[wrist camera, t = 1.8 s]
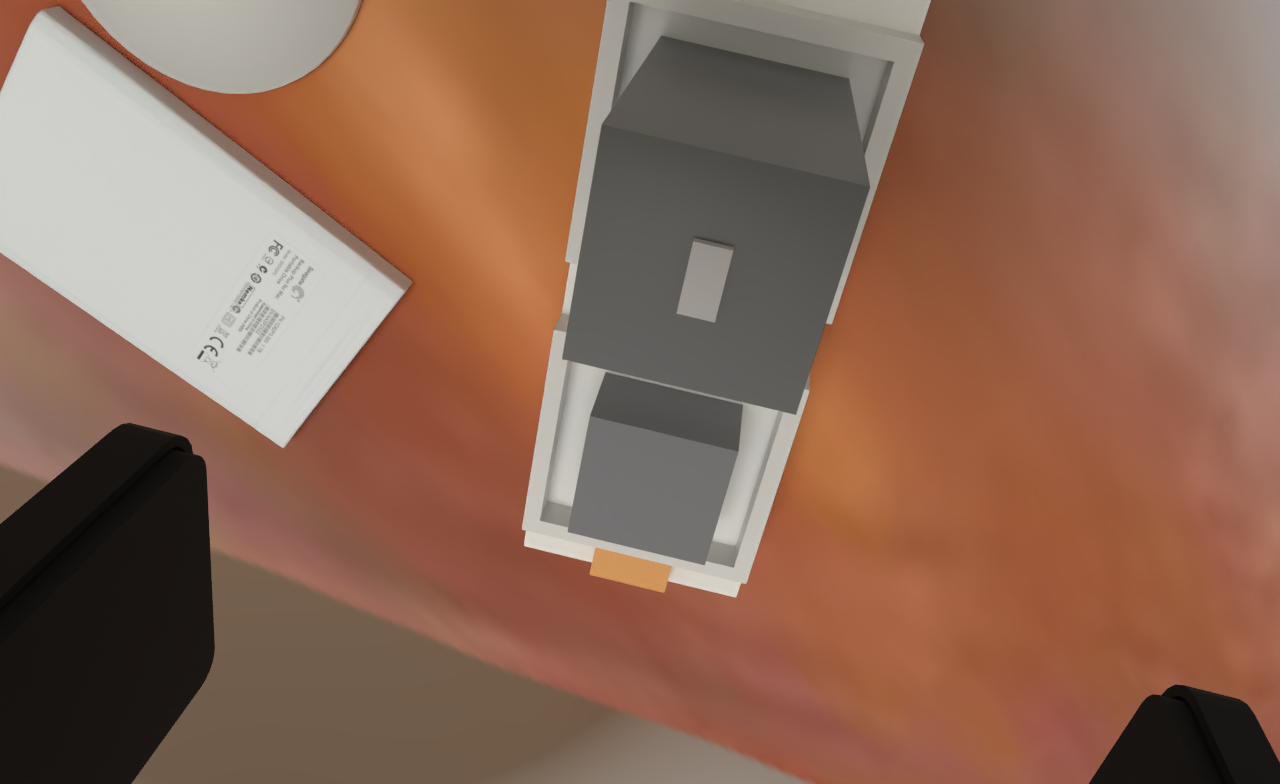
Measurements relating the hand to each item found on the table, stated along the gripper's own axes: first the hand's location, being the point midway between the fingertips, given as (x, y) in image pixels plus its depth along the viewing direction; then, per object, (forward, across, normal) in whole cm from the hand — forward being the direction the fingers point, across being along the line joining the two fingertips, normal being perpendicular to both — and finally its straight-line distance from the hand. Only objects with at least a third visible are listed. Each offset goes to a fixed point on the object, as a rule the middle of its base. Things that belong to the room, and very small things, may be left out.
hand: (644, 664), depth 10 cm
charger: (+17, 0, -1) cm, 17 cm away
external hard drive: (+20, +16, +7) cm, 27 cm away
